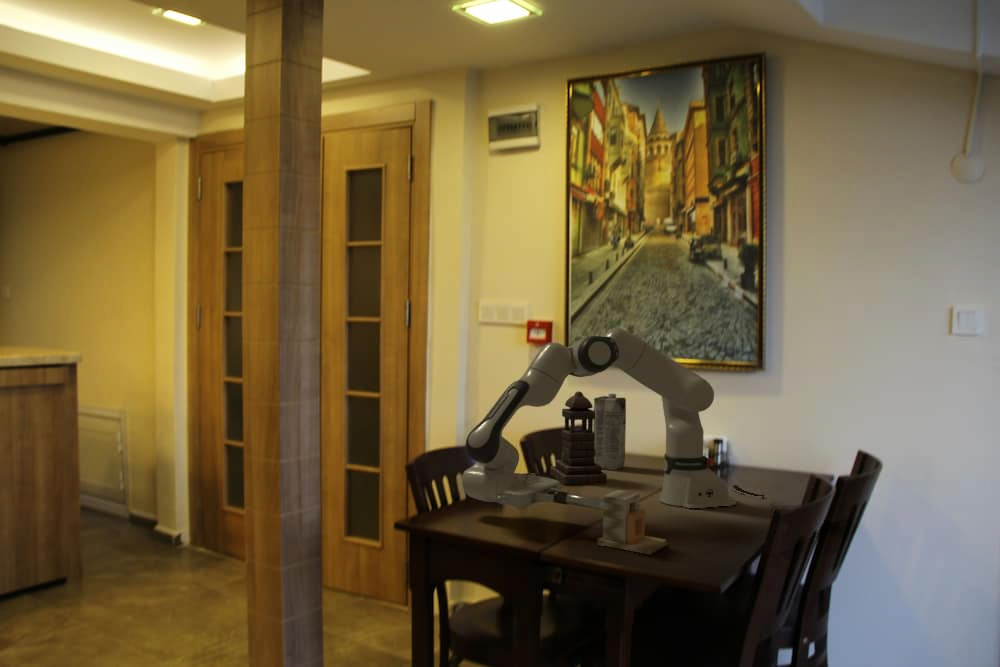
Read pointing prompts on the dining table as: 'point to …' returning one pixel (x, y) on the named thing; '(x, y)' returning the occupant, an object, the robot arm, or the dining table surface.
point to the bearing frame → (624, 523)
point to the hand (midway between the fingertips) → (558, 497)
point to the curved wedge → (744, 491)
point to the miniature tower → (578, 446)
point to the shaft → (577, 500)
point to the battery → (610, 431)
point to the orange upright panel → (639, 520)
